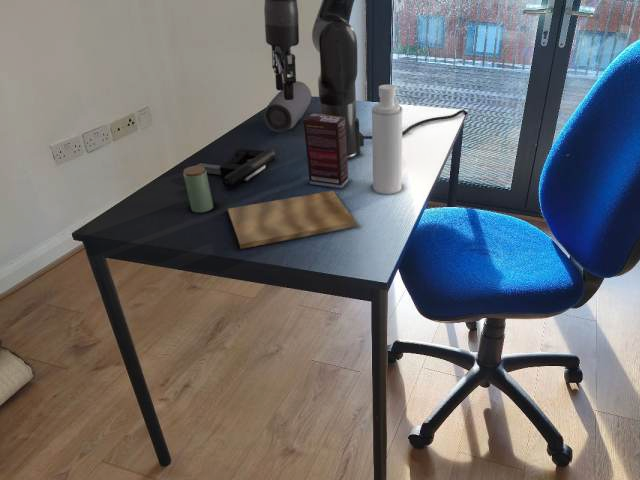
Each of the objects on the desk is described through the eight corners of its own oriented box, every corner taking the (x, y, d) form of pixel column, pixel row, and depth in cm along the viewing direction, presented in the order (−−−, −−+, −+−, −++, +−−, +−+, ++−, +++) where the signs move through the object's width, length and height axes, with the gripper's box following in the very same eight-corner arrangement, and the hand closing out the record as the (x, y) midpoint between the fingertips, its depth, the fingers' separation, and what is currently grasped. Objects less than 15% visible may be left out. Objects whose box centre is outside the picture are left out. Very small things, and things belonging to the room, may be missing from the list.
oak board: (333, 195, 129) (333, 190, 128) (355, 226, 117) (355, 221, 116) (228, 213, 122) (227, 208, 121) (240, 249, 110) (239, 243, 109)
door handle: (179, 171, 134) (234, 178, 128) (228, 143, 149) (280, 148, 143) (183, 184, 136) (237, 192, 130) (231, 155, 151) (282, 160, 145)
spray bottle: (378, 180, 135) (377, 73, 121) (404, 183, 133) (406, 76, 119) (369, 191, 130) (366, 82, 115) (396, 195, 128) (397, 84, 114)
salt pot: (212, 201, 127) (204, 163, 121) (214, 210, 123) (207, 172, 118) (190, 204, 125) (181, 167, 120) (192, 214, 121) (183, 175, 116)
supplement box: (349, 180, 135) (346, 116, 126) (341, 189, 131) (338, 123, 122) (316, 176, 137) (311, 112, 128) (308, 184, 134) (302, 118, 124)
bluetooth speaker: (286, 111, 178) (282, 78, 172) (314, 112, 177) (312, 79, 171) (263, 136, 160) (259, 101, 154) (295, 137, 159) (291, 102, 153)
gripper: (305, 27, 122) (307, 102, 131) (290, 16, 132) (292, 86, 141) (271, 27, 119) (275, 104, 128) (259, 16, 130) (263, 87, 139)
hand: (284, 94), depth 135 cm, fingers open, 8 cm apart
